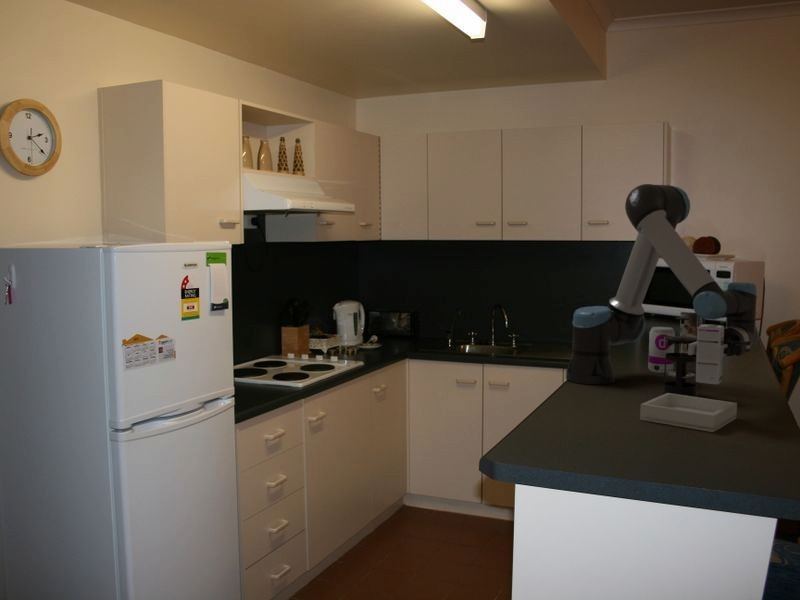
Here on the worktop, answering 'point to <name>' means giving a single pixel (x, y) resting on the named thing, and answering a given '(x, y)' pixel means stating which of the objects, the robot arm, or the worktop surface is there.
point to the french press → (680, 367)
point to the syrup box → (709, 354)
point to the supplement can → (660, 349)
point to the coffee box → (690, 327)
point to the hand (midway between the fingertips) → (703, 351)
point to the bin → (689, 412)
